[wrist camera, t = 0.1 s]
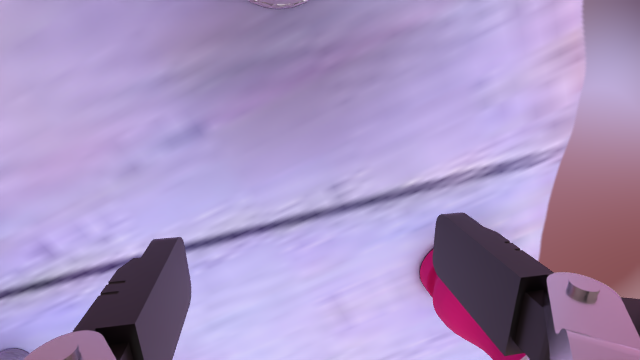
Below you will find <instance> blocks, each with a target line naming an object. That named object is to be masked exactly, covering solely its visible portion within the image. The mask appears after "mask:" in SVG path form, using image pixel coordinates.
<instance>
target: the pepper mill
mask: <svg viewBox="0 0 640 360" xmlns="http://www.w3.org/2000/svg"><path fill="white" fill-rule="evenodd" d="M420 279H421V282H422V284H423V285H424V287H425V288H426V289H427V291H428V292H429V294H430V295H431V296H432V297H433V306H434V308H435V311H436V313H437V315H438V316H439V317H440V319H441V320H442V321H443V322H444V323H445V325H446V326H447V327H448V328H450V329H451V330H452V331H453V332H454V333H456V334H457V335H459V336H461V337H462V338H464V339H465V340H467V341H469V342H471V343H473V344H474V345H476V346H478V347H479V348H481V349H482V350H484V351H485V352H486V353H487V354H488V355H489V356H490V357H491V358H492V359H493V360H527V359H528V357H527V355H526V354H525V353H522V354H515V355H509V356H504V355H503V354H502V353H501V351H500V350H499V349H498V348H497V347H496V345H495V344H494V343H493V342H492V341H491V339H490V338H489V337H488V336H487V335H486V333H485V332H484V331H483V330H482V329H481V327H480V326H479V325H478V324H477V323H476V321H475V320H474V319H473V318H472V317H471V315H470V314H469V313H468V312H467V311H466V309H465V308H464V307H463V306H462V305H461V303H460V302H459V301H458V300H457V298H456V297H455V296H454V295H453V294H452V292H451V291H450V290H449V289H448V288H447V286H446V285H445V284H444V283H443V282H442V280H441V279H440V278H439V277H438V275H437V274H436V272H435V269H434V266H433V250H432V251H431V252H430V253H428V254H427V256H426V257H425V259H424V260H423V262H422V265H421V268H420Z"/></svg>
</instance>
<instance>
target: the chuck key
mask: <svg viewBox="0 0 640 360" xmlns="http://www.w3.org/2000/svg"><path fill="white" fill-rule="evenodd" d="M28 355H29V353H28V352H26V351H24V350H21V349H16V348H10V349H6V350H3V351H1V352H0V360H23V359H24V358H25V357H27V356H28Z"/></svg>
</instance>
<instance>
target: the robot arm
mask: <svg viewBox="0 0 640 360" xmlns="http://www.w3.org/2000/svg"><path fill="white" fill-rule="evenodd" d="M248 1H250V2H252V3H254V4H257V5H260V6H263V7H267V8H275V9H282V8H292V7H295V6H298V5H300V4H303V3H306V2H307V1H309V0H248ZM433 266H434V269H435V272H436V274H437V275H438V277H439V278H440V279H441V280H442V282H443V283H444V284H445V285H446V286H447V288H448V289H449V290H450V291H451V292H452V294H453V295H454V296H455V297H456V298H457V300H458V301H459V302H460V303H461V305H462V306H463V307H464V308H465V309H466V311H467V312H468V313H469V314H470V315H471V317H472V318H473V319H474V320H475V321H476V323H477V324H478V325H479V326H480V327H481V329H482V330H483V331H484V332H485V333H486V335H487V336H488V337H489V338H490V339H491V341H492V342H493V343H494V344H495V345H496V347H497V348H498V349H499V350H500V351H501V353H502V354H503V355H504V356H509V355H515V354H522V353H525V354H526V355H527V357H528V359H527V360H640V299H632V298H621V297H620V296H619V295H618V294H617V293H616V292H615V291H614V290H613V289H611V288H610V287H608V286H607V285H605V284H603V283H601V282H599V281H597V280H595V279H592V278H589V277H586V276H583V275H579V274H575V273H567V272H558V273H554V272H552V271H550V270H549V269H548V268H547V267H545V266H544V265H542V264H541V263H540V262H538V261H537V260H535V259H534V258H533V257H531V256H530V255H528V254H527V253H525V252H524V251H523V250H521V251H520V248H518V247H517V246H516V245H514V244H513V243H510V241H509V240H507V239H506V238H504V237H503V236H501V235H500V234H499V233H497V232H495V231H493V230H490V229H488V228H485V227H483V226H482V225H480V224H479V223H478V222H476V221H475V220H474V219H472V218H471V217H469V216H468V215H467V214H465V213H452V214H441V215H439V216H438V218H437V221H436V228H435V238H434V248H433ZM190 300H191V281H190V275H189V269H188V264H187V258H186V252H185V246H184V242H183V239H182V238H181V237H176V238H164V239H154V240H152V241H151V243H150V244H149V246H148V248H147V249H146V251H145V252H144V254H143V255H142V257H141V258H133V259H132V260H130V261H129V262H128V263H126V264H125V265H123V266H122V267H121V268H119V269H118V270H117V271H116V273H115V274H114V275H113V277H112V278H111V280H110V281H109V284H108V285H106V286H105V288H104V289H103V291H102V292H101V296H98V297H97V299H96V300H95V302H94V303H93V304H92V306H91V307H90V308H89V310H88V311H87V313H86V314H85V315H84V317H83V318H82V319H81V321H80V322H79V324H78V325H77V326H76V328H75V329H74V330H73V332H72V333H68V334H65V335H62V336H59V337H57V338H55V339H53V340H51V341H49V342H47V343H45V344H43V345H42V346H40V347H38V348H37V349H35V350H34V351H33V352H31V353H30V354H29V355H28V356H27V357H25V358H24V359H23V360H172V359H173V356H174V352H175V349H176V346H177V343H178V340H179V337H180V333H181V330H182V327H183V324H184V321H185V318H186V314H187V311H188V308H189V305H190Z"/></svg>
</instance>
